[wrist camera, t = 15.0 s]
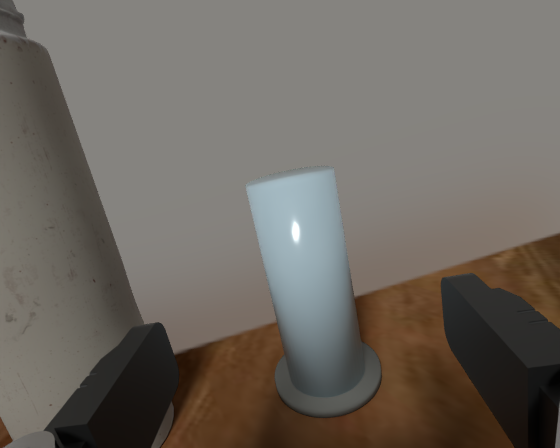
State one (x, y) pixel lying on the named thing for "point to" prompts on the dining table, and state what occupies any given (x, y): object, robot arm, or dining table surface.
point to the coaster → (337, 403)
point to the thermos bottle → (50, 246)
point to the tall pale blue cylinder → (309, 278)
